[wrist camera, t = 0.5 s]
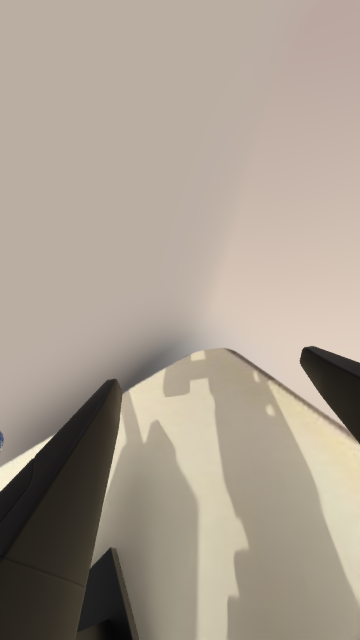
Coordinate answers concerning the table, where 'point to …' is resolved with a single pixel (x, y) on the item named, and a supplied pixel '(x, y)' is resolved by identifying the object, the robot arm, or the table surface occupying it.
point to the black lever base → (106, 603)
